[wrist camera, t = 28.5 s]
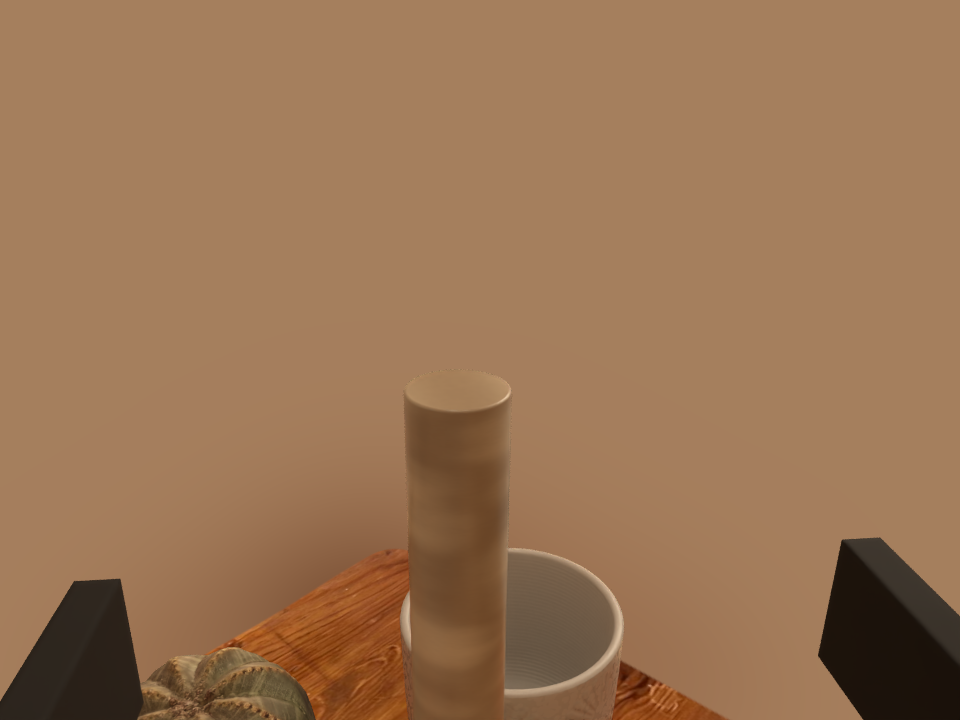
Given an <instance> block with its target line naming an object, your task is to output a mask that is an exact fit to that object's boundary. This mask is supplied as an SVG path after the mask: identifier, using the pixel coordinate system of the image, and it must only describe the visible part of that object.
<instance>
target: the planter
mask: <svg viewBox="0 0 960 720" xmlns="http://www.w3.org/2000/svg"><path fill="white" fill-rule="evenodd" d="M400 628H401V641H402V654H403V668H404V680H405V692H406V702H407V711H408V719H409V720H413V689H412V656H411V622H410V591H409V592H408V594H407V595H406V598H405V600H404V602H403V605H402V609H401V615H400ZM623 635H624V621H623V615H622V611H621V609H620V607H619V604H618V602H617V600H616V598H615V597H614V595H613V594H612V592H611V591H610V590H609V588H608V587H607V586H606V585H605V584H604V583H603V582H602V581H601V580H600V579H599V578H598V577H596V576H595V575H594V574H592V573H591V572H590V571H588V570H587V569H585V568H583V567H582V566H580V565H578V564H576V563H574V562H572V561H570V560H567V559H565V558H562V557H559V556H556V555H553V554H549V553H545V552H541V551H536V550H529V549H519V548H508V566H507V607H506V648H505V689H504V720H612V715H613V709H614V703H615V695H616V688H617V681H618V673H619V665H620V657H621V650H622V641H623Z"/></svg>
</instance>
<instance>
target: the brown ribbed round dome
mask: <svg viewBox="0 0 960 720" xmlns="http://www.w3.org/2000/svg"><path fill="white" fill-rule="evenodd" d="M140 685H141V690H142V696H143V701H144V703H143V706H142V709H141V711H140V714H139V716H138V719H137V720H316V719H315V716H314V713H313V709H312V706H311V704H310V701H309V699H308V696H307V694H306V692H305V690H304V689H303V688H302V686H301V685H300V684H299V683H298V682H297V680H296V679H295V678H294V677H292V676H291V675H290V674H289V673H288V672H286V671H285V670H284V669H283V668H282V667H280V666H279V665H277V664H274V663H270V662H268V661H267V660H266V659H264V658H262V657H261V656H259V655H257V654H254V653H251V652H247V651H245V650H242V649H241V648H236V647H228V648H225V649H221V650H219V651H217V652H214V653H212V654H209V655H189V656H178V657H174V658H172V659H170V660H169V661H168V662H167V663H166V664H164V665H163V666H162V667H160V668H159V669H157V670H156V671H155V672H154V673H153V674H152V675H151V676H150V677H149V678H148V680H147V681H146V682H143V683H140Z"/></svg>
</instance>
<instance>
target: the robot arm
mask: <svg viewBox="0 0 960 720" xmlns="http://www.w3.org/2000/svg"><path fill="white" fill-rule="evenodd" d="M818 656H819V658H820V659H821V661H822V662H823V664H824V665H825V666H826V668H827V669H828V671H829V672H830V673H831V675H832V676H833V678H834V679H835V680H836V682H837V683H838V685H839V686H840V688H841V689H842V690H843V692H844V693H845V695H846V696H847V697H848V699H849V700H850V702H851V703H852V704H853V706H854V707H855V709H856V710H857V711H858V713H859V714H860V716H861V717H862V719H863V720H960V616H959V615H958V614H957V613H956V612H955V611H954V610H953V609H952V608H951V607H950V606H949V605H948V604H947V603H946V602H945V601H944V600H943V599H942V598H941V597H940V596H939V595H938V594H936V592H935V591H934V590H933V589H932V588H931V587H930V586H929V585H927V583H926V582H925V581H924V580H923V579H921V577H920V576H919V575H917V574H916V573H915V572H914V571H913V570H912V569H911V568H910V567H909V566H908V565H907V564H906V563H905V562H904V561H903V560H902V559H901V558H900V557H899V556H898V555H897V554H896V553H895V552H894V551H893V550H892V549H891V548H890V547H889V546H888V545H887V544H886V543H885V542H884V541H883V540H882V539H881V538H863V539H847V540H846V539H845V540H842V541H841V546H840V551H839V556H838V561H837V566H836V571H835V575H834V581H833V585H832V590H831V596H830V600H829V605H828V610H827V615H826V619H825V624H824V629H823V634H822V639H821V644H820V649H819V653H818ZM143 703H144V701H143V696H142V690H141V685H140V680H139V675H138V670H137V664H136V659H135V654H134V649H133V643H132V638H131V632H130V627H129V622H128V617H127V611H126V606H125V601H124V596H123V590H122V585H121V580H120V579H108V580H90V581H74V582H73V584H72V585H71V587H70V589H69V590H68V592H67V594H66V595H65V597H64V598H63V600H62V602H61V603H60V605H59V607H58V608H57V610H56V611H55V613H54V615H53V616H52V618H51V620H50V621H49V623H48V625H47V626H46V628H45V629H44V631H43V633H42V634H41V636H40V638H39V639H38V641H37V642H36V644H35V646H34V647H33V649H32V650H31V652H30V654H29V655H28V657H27V659H26V660H25V662H24V664H23V665H22V667H21V668H20V670H19V672H18V673H17V675H16V677H15V678H14V680H13V682H12V683H11V685H10V686H9V688H8V690H7V691H6V693H5V694H4V696H3V698H2V699H1V701H0V720H137V719H138V716H139V714H140V711H141V709H142V706H143Z"/></svg>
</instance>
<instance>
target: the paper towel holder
mask: <svg viewBox="0 0 960 720" xmlns="http://www.w3.org/2000/svg"><path fill="white" fill-rule="evenodd" d="M511 402H512V391H511V388H510V386H509V384H508V383H507V382H506V381H504V380H503V379H501V378H499V377H497V376H495V375H492V374H489V373H485V372H480V371H473V370H443V371H436V372H431V373H427V374H424V375H421V376H419V377H416V378H415V379H413V380H411V381H410V382H409V383H408V384H407V385H406V387H405V389H404V419H405V454H406V486H407V519H408V520H407V521H408V555H409V588H410V622H411V656H412V689H413V720H504V689H505V648H506V607H507V566H508V524H509V482H510V443H511Z"/></svg>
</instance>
